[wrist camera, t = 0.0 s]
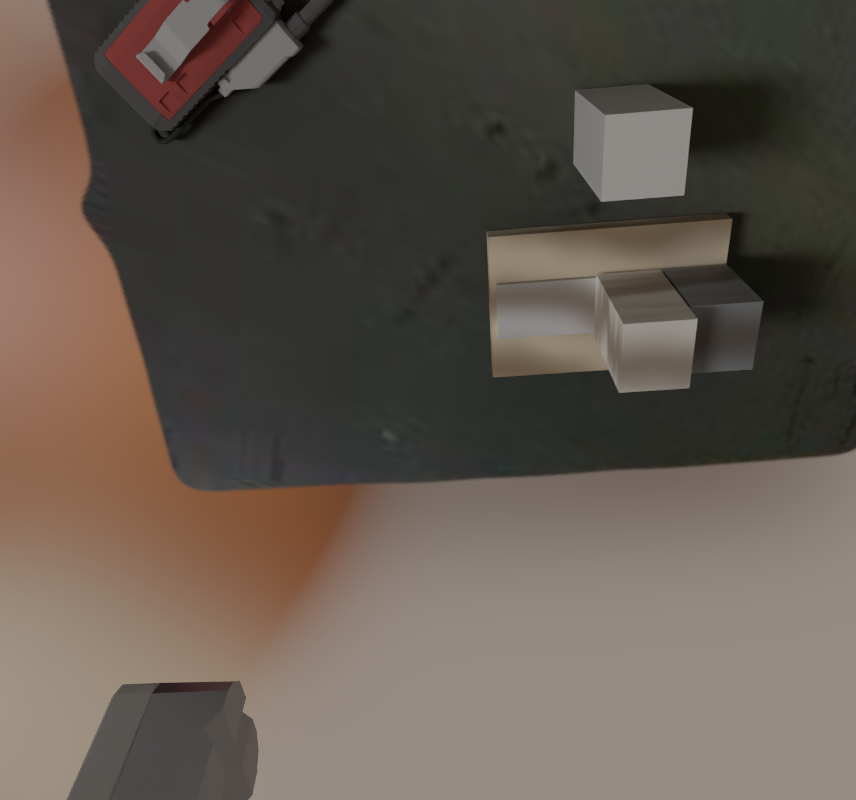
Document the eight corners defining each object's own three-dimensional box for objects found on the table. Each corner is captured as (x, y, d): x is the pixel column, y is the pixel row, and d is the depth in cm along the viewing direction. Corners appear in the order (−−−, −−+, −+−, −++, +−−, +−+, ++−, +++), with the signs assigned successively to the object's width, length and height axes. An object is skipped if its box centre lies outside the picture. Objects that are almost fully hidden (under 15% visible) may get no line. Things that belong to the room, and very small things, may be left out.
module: (575, 90, 50) (605, 115, 42) (650, 83, 50) (696, 107, 41) (573, 163, 53) (601, 201, 44) (645, 158, 53) (687, 195, 44)
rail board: (486, 231, 55) (498, 284, 46) (725, 212, 55) (786, 263, 45) (491, 368, 61) (502, 440, 52) (706, 354, 61) (757, 424, 51)
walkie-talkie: (190, 164, 53) (391, -44, 47) (172, 179, 49) (388, -45, 43) (91, 65, 50) (292, -175, 43) (63, 73, 46) (279, -189, 39)
